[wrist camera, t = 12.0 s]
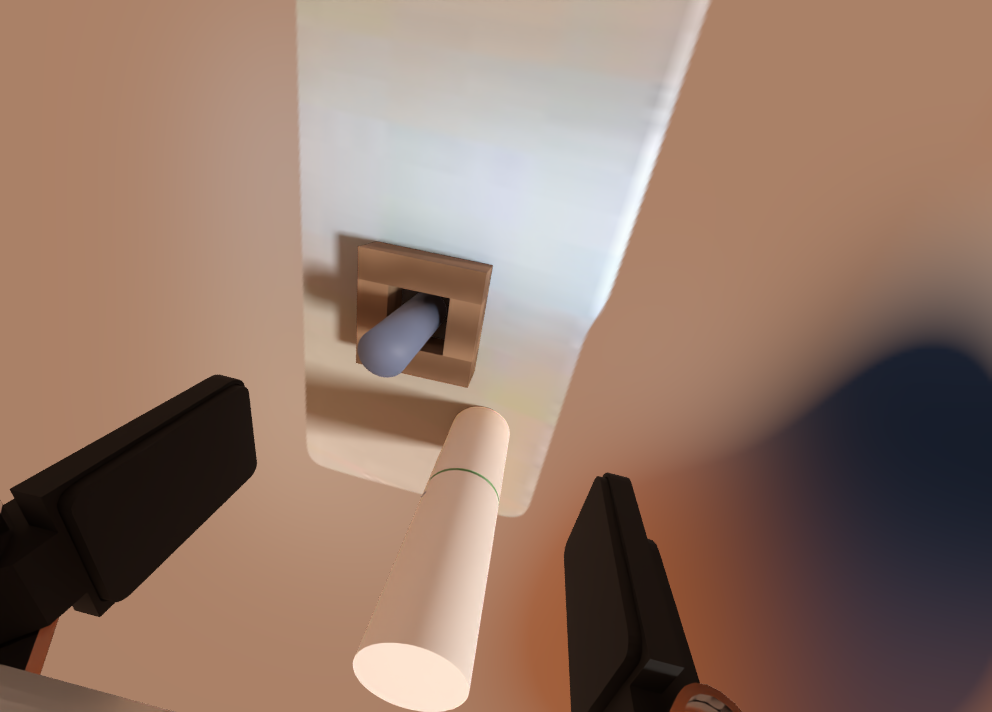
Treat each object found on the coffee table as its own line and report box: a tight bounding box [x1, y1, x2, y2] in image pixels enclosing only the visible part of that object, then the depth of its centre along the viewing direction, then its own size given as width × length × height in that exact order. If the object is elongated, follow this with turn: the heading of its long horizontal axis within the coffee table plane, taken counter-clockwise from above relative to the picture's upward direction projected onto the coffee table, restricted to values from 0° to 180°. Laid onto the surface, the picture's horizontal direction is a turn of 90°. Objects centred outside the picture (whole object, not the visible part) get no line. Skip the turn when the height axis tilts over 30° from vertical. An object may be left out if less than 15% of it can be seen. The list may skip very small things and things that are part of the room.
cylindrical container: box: [353, 406, 510, 712], centre depth 33 cm, size 7×7×25 cm
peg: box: [358, 292, 447, 377], centre depth 33 cm, size 4×4×12 cm
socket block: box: [356, 242, 493, 388], centre depth 37 cm, size 12×12×4 cm
